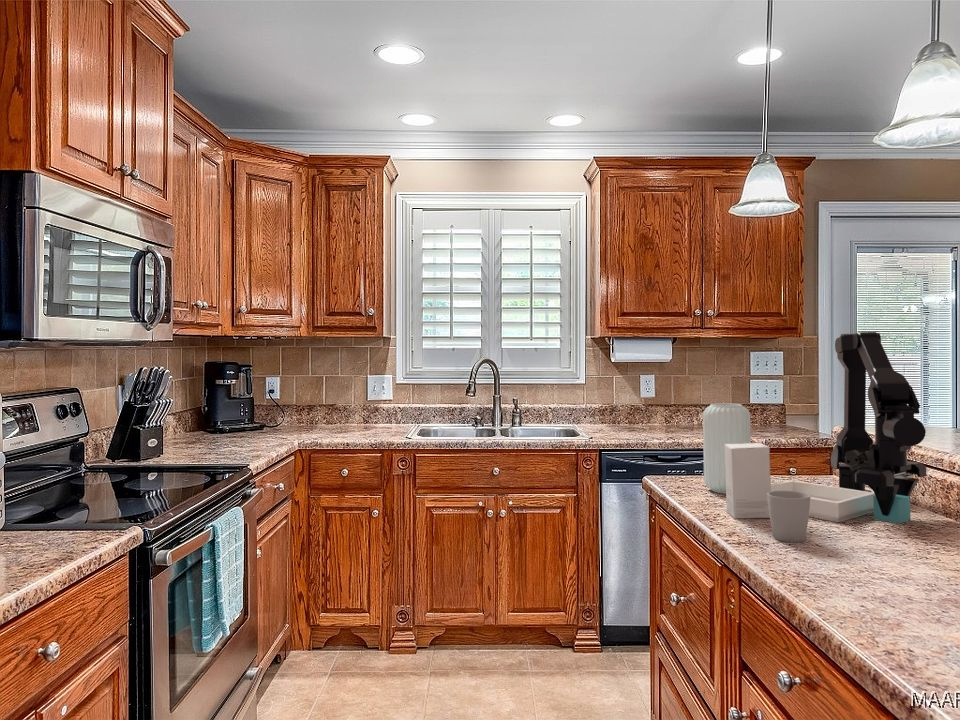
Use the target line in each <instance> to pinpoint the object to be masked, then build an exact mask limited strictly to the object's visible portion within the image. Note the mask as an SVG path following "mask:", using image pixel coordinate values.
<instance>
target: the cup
mask: <svg viewBox="0 0 960 720" xmlns="http://www.w3.org/2000/svg"><path fill="white" fill-rule="evenodd" d="M767 498H768V506H769V514H770V518H769V521H770V525H771V531H772V537H773V538H774V539H775V540H777V541H781V542H785V543H801V542H802V543H803V542H804V541H805V540H806V538H807V531H808V523H809V518H810V517H809V507H810V495H809V494H806V493H802V492H796V491H771V492H768V493H767Z"/></svg>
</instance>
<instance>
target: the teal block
mask: <svg viewBox="0 0 960 720" xmlns="http://www.w3.org/2000/svg"><path fill="white" fill-rule="evenodd" d="M873 503H874V512H873V520H877V521H881V522H882V521H883V522H888V523H893V524H902V523H905V522H908V521H911V496H903V495H896V496H895V499H894V502H893V505H892V508H891V511H890V513H889V515H888V516H885V515H882V512H881V509H880V507H879V504H878V501H877V498H876V496H873Z"/></svg>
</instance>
